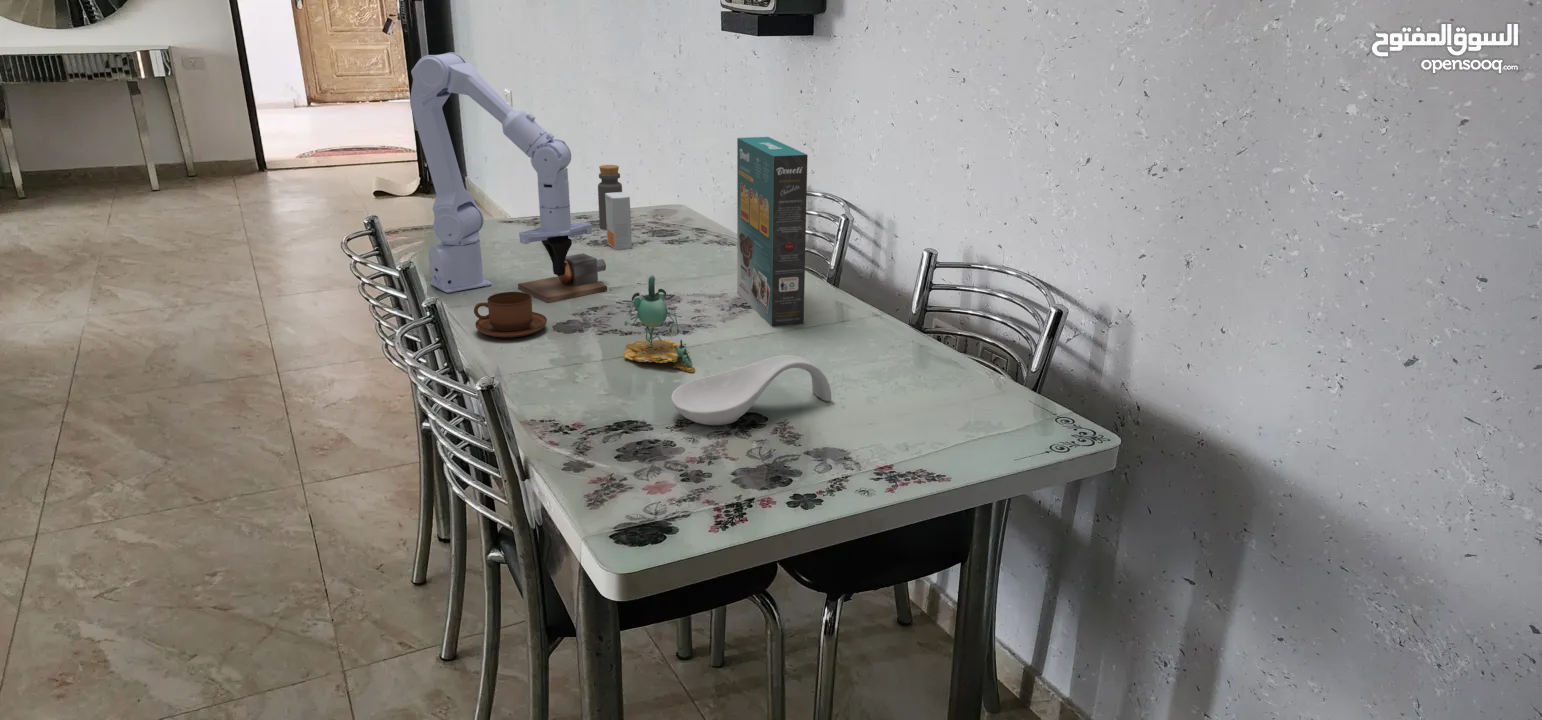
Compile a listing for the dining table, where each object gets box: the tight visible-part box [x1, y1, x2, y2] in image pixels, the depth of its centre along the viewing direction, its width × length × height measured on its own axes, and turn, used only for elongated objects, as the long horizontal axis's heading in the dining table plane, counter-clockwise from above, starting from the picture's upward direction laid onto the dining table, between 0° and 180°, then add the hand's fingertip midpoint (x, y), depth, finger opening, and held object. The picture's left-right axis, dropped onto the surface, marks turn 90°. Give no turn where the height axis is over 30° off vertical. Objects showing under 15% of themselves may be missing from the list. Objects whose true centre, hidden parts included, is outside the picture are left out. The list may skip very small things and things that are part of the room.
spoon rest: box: [670, 354, 832, 426], centre depth 143 cm, size 24×12×7 cm, turn 117°
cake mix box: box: [736, 136, 808, 328], centre depth 185 cm, size 22×6×30 cm, turn 18°
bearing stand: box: [517, 253, 608, 304], centre depth 198 cm, size 13×12×6 cm
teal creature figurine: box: [623, 275, 696, 373], centre depth 162 cm, size 10×18×15 cm, turn 31°
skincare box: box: [605, 191, 633, 251], centre depth 230 cm, size 6×4×12 cm
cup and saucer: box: [473, 291, 548, 339], centre depth 174 cm, size 12×12×6 cm
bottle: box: [597, 164, 623, 230], centre depth 248 cm, size 6×6×15 cm
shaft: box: [557, 258, 607, 283], centre depth 201 cm, size 9×4×4 cm, turn 130°
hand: (558, 274), depth 198 cm, fingers closed
